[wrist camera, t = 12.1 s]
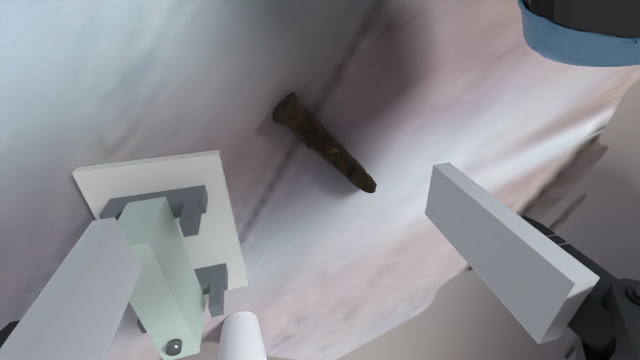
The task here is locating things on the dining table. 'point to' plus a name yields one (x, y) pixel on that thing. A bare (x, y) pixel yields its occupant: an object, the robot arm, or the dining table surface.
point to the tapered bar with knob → (163, 279)
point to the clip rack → (178, 211)
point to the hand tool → (321, 141)
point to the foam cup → (241, 338)
